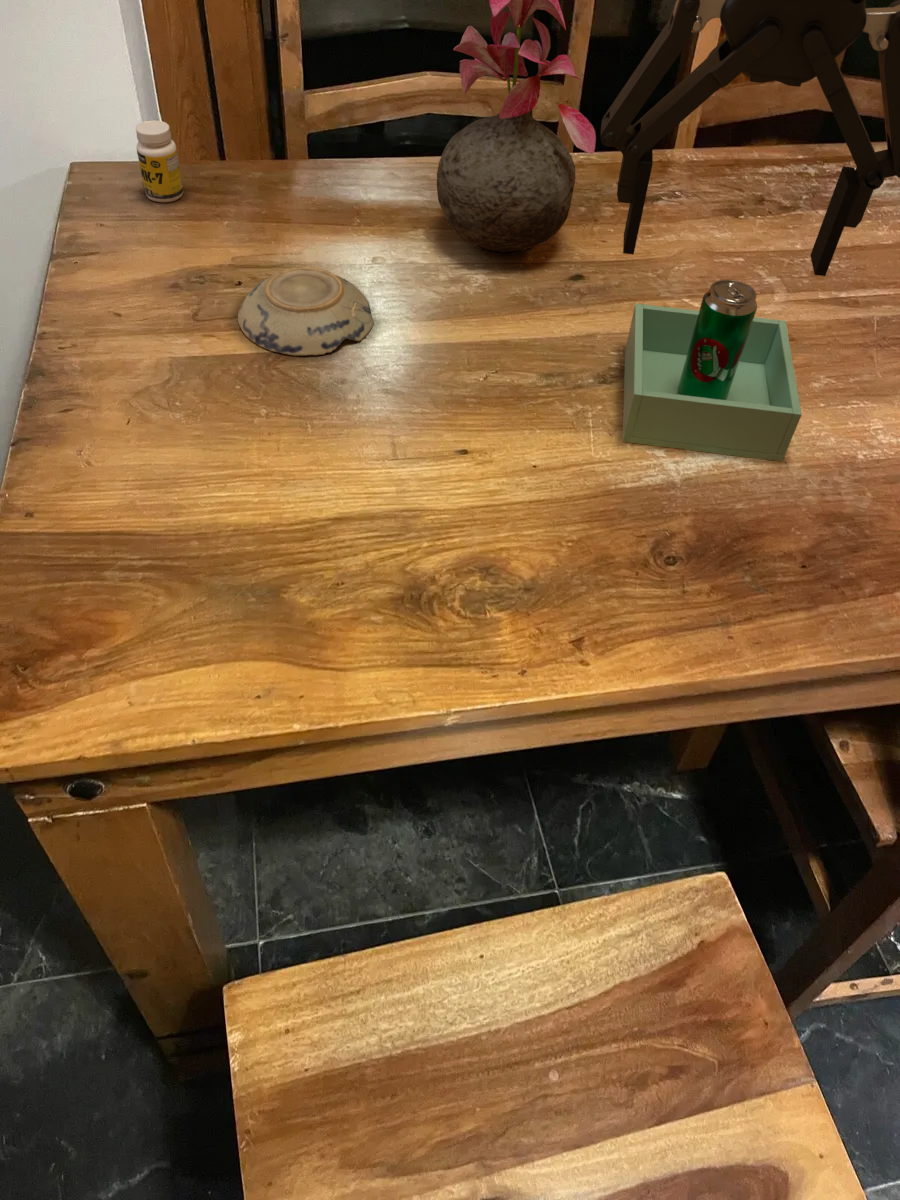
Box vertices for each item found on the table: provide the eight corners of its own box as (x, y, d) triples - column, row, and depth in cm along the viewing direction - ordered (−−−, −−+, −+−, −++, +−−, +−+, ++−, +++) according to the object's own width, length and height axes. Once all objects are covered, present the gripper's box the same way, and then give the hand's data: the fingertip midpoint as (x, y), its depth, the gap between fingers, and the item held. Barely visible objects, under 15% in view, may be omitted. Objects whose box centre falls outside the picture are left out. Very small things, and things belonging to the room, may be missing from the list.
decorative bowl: (345, 370, 97) (393, 294, 107) (343, 340, 95) (393, 265, 104) (214, 340, 100) (273, 269, 109) (208, 310, 97) (269, 239, 106)
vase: (437, 203, 121) (447, -73, 98) (571, 211, 121) (613, -62, 98) (431, 273, 110) (441, -20, 87) (578, 282, 110) (626, -8, 87)
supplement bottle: (138, 197, 119) (123, 129, 112) (161, 182, 121) (148, 115, 115) (169, 207, 117) (156, 138, 111) (192, 191, 120) (180, 124, 114)
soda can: (708, 377, 98) (740, 272, 89) (735, 405, 95) (771, 300, 86) (667, 387, 96) (695, 282, 87) (693, 416, 94) (726, 311, 84)
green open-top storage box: (769, 367, 101) (786, 320, 97) (782, 461, 91) (802, 414, 87) (625, 350, 102) (635, 302, 97) (622, 442, 92) (634, 394, 87)
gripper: (1039, -101, 53) (888, 248, 69) (601, -140, 54) (554, 210, 71) (1079, -62, 48) (907, 303, 64) (597, -106, 50) (547, 262, 66)
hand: (722, 255), depth 68 cm, fingers open, 13 cm apart
